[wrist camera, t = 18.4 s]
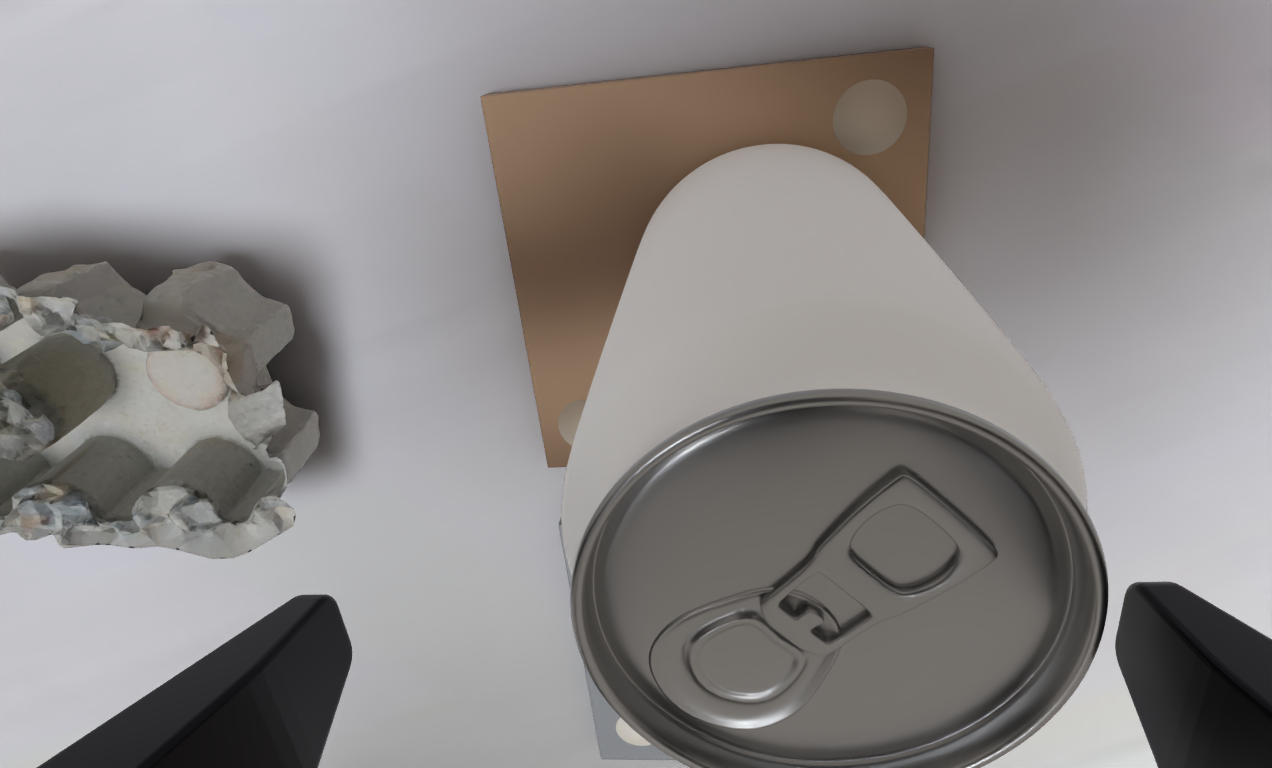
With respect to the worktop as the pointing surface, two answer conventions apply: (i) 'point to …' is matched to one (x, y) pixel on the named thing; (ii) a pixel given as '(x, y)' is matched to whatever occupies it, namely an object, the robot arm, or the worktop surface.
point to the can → (821, 491)
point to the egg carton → (146, 412)
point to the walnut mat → (669, 181)
